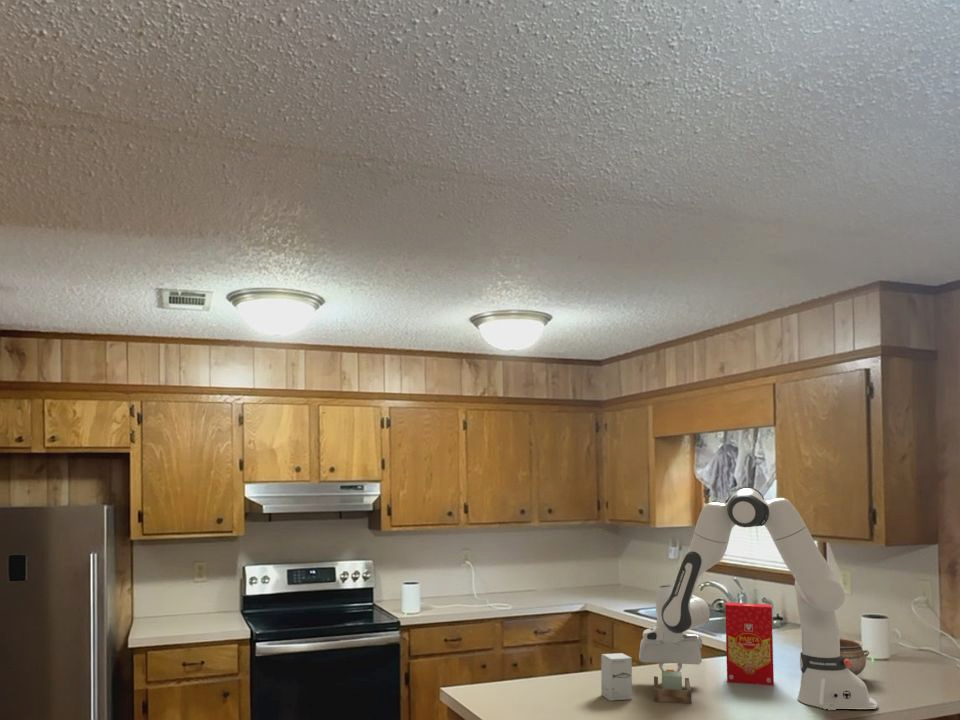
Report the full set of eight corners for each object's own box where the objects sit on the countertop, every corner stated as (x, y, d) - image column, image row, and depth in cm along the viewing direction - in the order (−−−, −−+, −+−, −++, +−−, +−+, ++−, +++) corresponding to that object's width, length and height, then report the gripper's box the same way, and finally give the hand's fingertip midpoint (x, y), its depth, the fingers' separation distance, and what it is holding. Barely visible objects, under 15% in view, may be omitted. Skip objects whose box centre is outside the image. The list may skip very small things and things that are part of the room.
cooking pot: (851, 670, 310) (850, 634, 312) (887, 684, 292) (885, 646, 293) (787, 673, 305) (786, 637, 307) (819, 688, 287) (817, 649, 288)
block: (679, 682, 292) (679, 663, 293) (682, 696, 276) (681, 676, 276) (661, 681, 293) (660, 663, 294) (662, 695, 277) (662, 675, 277)
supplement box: (610, 701, 270) (610, 658, 271) (600, 695, 277) (600, 653, 278) (632, 699, 272) (632, 657, 273) (622, 693, 279) (622, 652, 280)
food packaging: (727, 681, 294) (725, 604, 296) (727, 678, 299) (725, 602, 301) (773, 685, 290) (771, 607, 292) (773, 681, 295) (771, 604, 297)
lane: (689, 689, 284) (688, 678, 285) (691, 703, 269) (691, 691, 269) (654, 687, 286) (653, 676, 287) (654, 701, 271) (654, 689, 271)
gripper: (701, 633, 295) (702, 675, 294) (638, 630, 299) (639, 672, 297) (702, 637, 289) (703, 680, 287) (638, 634, 292) (639, 677, 291)
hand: (670, 676), depth 292 cm, fingers closed on block, 2 cm apart
